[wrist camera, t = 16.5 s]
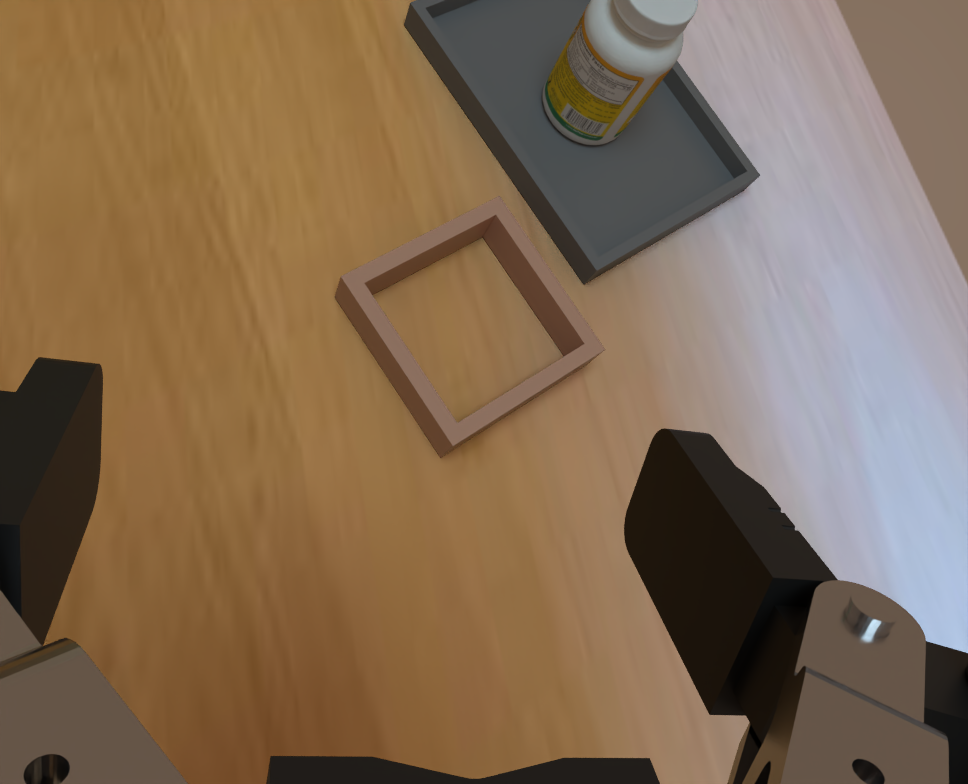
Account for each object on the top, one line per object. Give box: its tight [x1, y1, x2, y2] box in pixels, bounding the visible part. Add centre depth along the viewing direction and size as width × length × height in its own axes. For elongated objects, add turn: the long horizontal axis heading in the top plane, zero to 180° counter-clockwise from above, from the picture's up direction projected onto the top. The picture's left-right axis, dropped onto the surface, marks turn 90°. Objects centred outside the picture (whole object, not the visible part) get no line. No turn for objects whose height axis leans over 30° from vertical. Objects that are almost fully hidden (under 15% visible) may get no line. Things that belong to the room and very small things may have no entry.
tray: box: [404, 0, 760, 284], centre depth 50 cm, size 18×13×2 cm
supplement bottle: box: [543, 0, 698, 145], centre depth 46 cm, size 5×5×10 cm
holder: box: [335, 196, 605, 458], centre depth 43 cm, size 10×10×2 cm
